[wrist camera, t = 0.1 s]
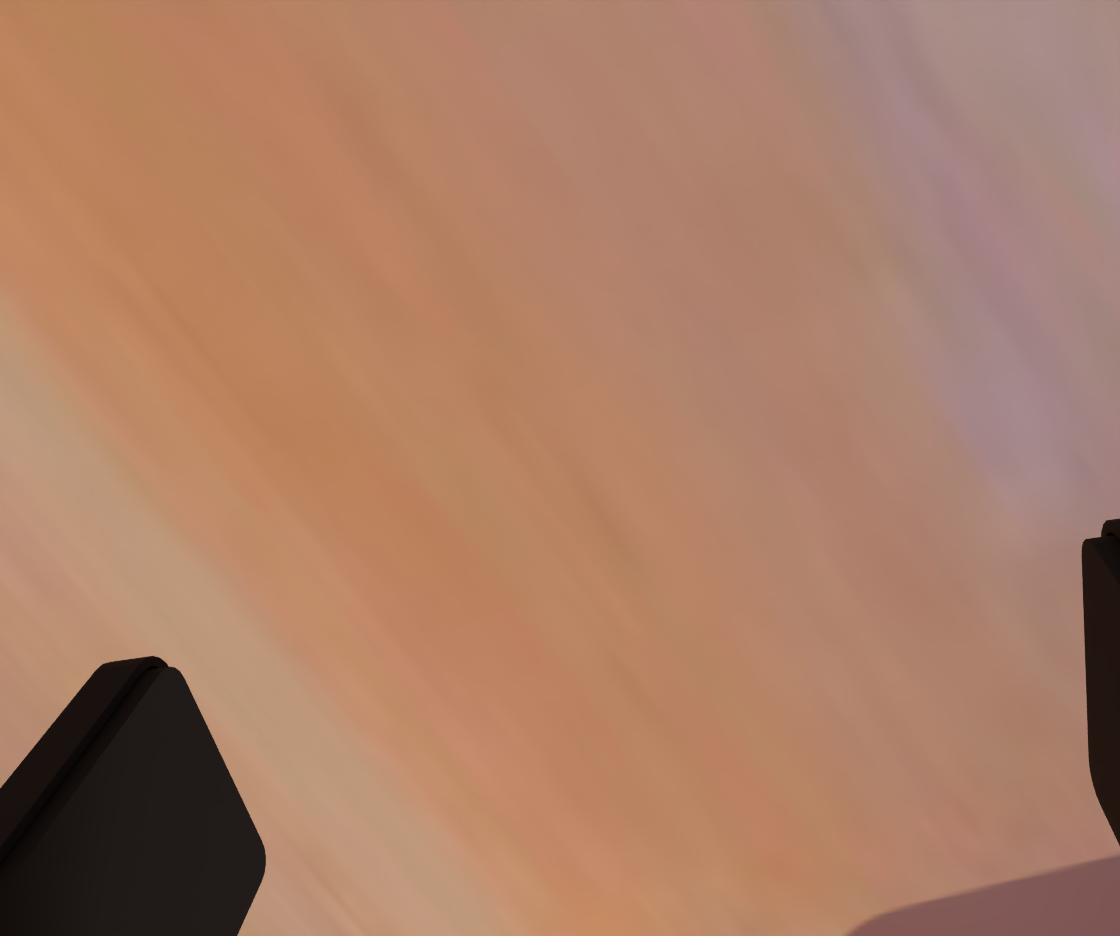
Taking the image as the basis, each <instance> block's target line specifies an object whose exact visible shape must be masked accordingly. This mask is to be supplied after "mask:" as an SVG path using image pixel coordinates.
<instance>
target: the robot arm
mask: <svg viewBox="0 0 1120 936" xmlns="http://www.w3.org/2000/svg"><path fill="white" fill-rule="evenodd" d="M1082 577H1083V606H1084V635H1085V664H1086V693H1087V722H1088V751H1089V767H1090V772H1091V778H1092V782H1093V786H1094V789H1095V792H1096V795H1097V798H1098V800H1099V803H1100V805H1101V807H1102V809H1103V811H1104V813H1105V815H1106V818H1107V820H1108V822H1109V824H1110V826H1111V828H1112V830H1113V832H1114V835H1115V837H1116V839H1117V841H1118V843H1119V845H1120V519H1113V520H1107V521H1106V522H1105V523H1104V524H1103V528H1102V531H1101V537H1098V538H1091V539H1085V540H1084V542H1083V545H1082ZM265 866H266V855H265V849H264V845H263V843H262V840H261V838H260V836H259V834H258V832H257V830H256V828H255V825H254V823H253V821H252V819H251V817H250V815H249V813H248V811H247V809H246V807H245V804H244V802H243V800H242V798H241V796H240V794H239V792H238V790H237V788H236V786H235V784H234V781H233V779H232V777H231V775H230V773H229V771H228V769H227V767H226V765H225V763H224V760H223V758H222V756H221V754H220V752H219V750H218V748H217V746H216V744H215V742H214V739H213V737H212V735H211V733H210V731H209V729H208V727H207V725H206V723H205V721H204V719H203V716H202V714H201V712H200V710H199V708H198V706H197V704H196V702H195V700H194V698H193V695H192V693H191V691H190V689H189V687H188V685H187V683H186V681H185V679H184V677H183V675H182V674H181V672H180V671H179V670H177V669H176V668H174V667H169V666H168V665H167V663H166V662H164V661H163V660H162V659H161V658H159V657H155V656H149V657H142V658H135V659H128V660H121V661H114V662H109V663H105V664H103V665H101V666H100V667H99V668H98V669H97V670H96V671H95V672H94V673H93V675H92V676H91V677H90V678H89V680H88V681H87V682H86V683H85V684H84V686H83V687H82V688H81V689H80V691H79V692H78V693H77V694H76V696H75V697H74V698H73V699H72V701H71V702H70V703H69V704H68V705H67V707H66V708H65V709H64V710H63V712H62V713H61V714H60V715H59V717H58V718H57V719H56V720H55V722H54V723H53V724H52V725H51V727H50V728H49V729H48V730H47V731H46V733H45V734H44V735H43V736H42V738H41V739H40V740H39V741H38V743H37V744H36V745H35V746H34V748H33V749H32V750H31V751H30V752H29V754H28V755H27V756H26V757H25V759H24V760H23V761H22V762H21V764H20V765H19V766H18V767H17V769H16V770H15V771H14V772H13V773H12V775H11V776H10V777H9V778H8V780H7V781H6V782H5V783H4V785H3V786H2V787H1V788H0V936H237V935H238V933H239V930H240V928H241V926H242V924H243V921H244V919H245V917H246V915H247V913H248V910H249V908H250V906H251V904H252V902H253V899H254V897H255V895H256V893H257V891H258V888H259V886H260V884H261V882H262V879H263V876H264V872H265Z"/></svg>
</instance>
